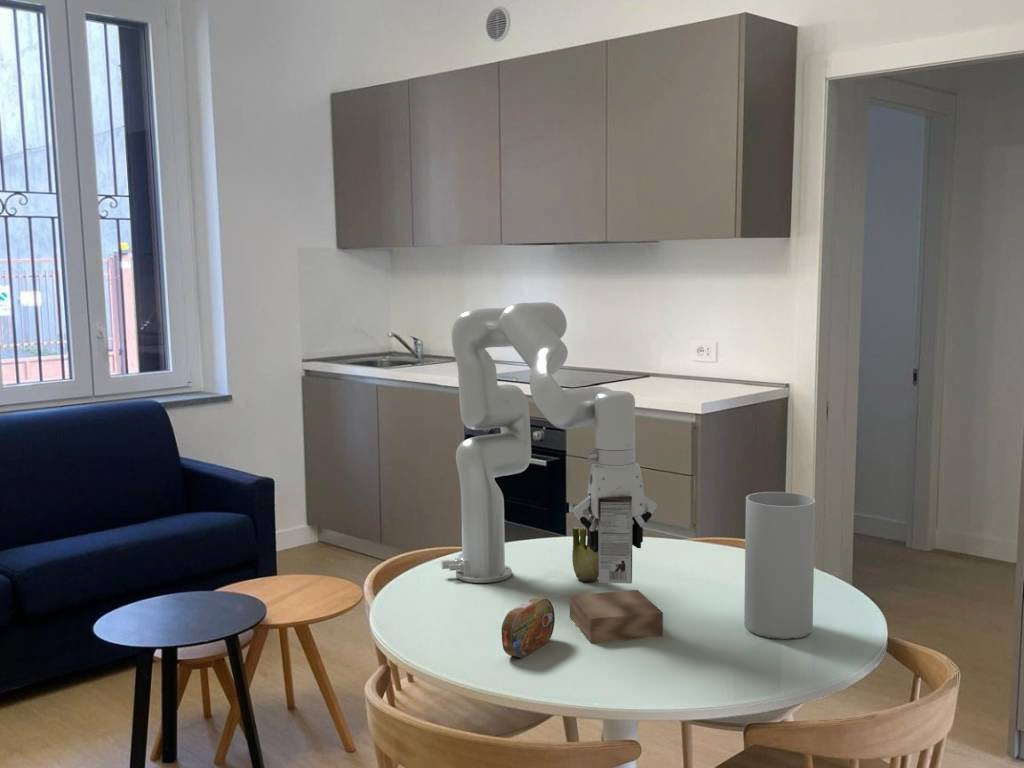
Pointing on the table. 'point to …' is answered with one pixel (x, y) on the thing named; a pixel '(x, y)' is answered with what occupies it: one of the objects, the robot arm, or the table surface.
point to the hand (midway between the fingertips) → (615, 548)
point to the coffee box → (615, 540)
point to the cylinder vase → (779, 564)
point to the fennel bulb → (584, 557)
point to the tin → (528, 627)
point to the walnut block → (616, 616)
